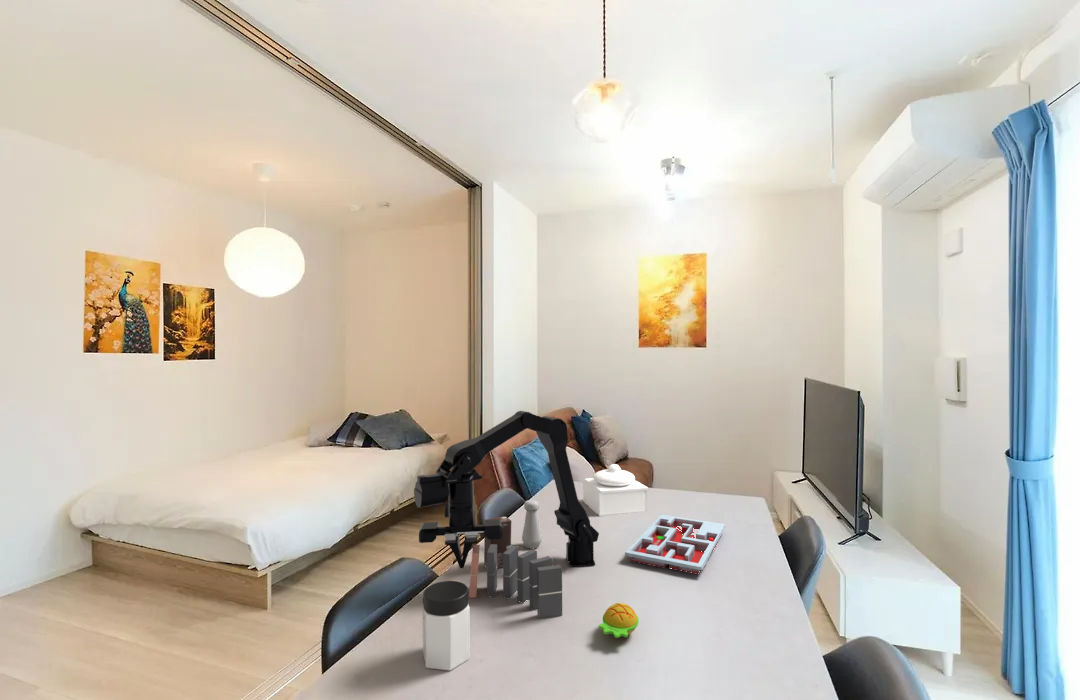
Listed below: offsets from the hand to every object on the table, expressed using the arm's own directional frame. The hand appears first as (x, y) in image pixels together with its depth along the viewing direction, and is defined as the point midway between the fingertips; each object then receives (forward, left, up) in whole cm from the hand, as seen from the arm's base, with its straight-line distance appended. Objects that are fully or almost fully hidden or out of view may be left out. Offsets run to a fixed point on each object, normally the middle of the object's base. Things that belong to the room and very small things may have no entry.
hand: (461, 567), depth 114 cm
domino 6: (-19, +12, -6) cm, 23 cm away
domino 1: (-2, 0, -6) cm, 6 cm away
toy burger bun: (-31, +21, -6) cm, 38 cm away
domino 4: (-15, +4, -6) cm, 16 cm away
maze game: (-60, -20, -6) cm, 64 cm away
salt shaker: (-18, -26, -6) cm, 32 cm away
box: (-8, -14, -6) cm, 17 cm away
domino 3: (-11, +2, -6) cm, 13 cm away
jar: (+2, +24, -6) cm, 25 cm away
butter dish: (-51, -59, -6) cm, 78 cm away
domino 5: (-18, +8, -6) cm, 20 cm away
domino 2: (-7, 0, -6) cm, 9 cm away
